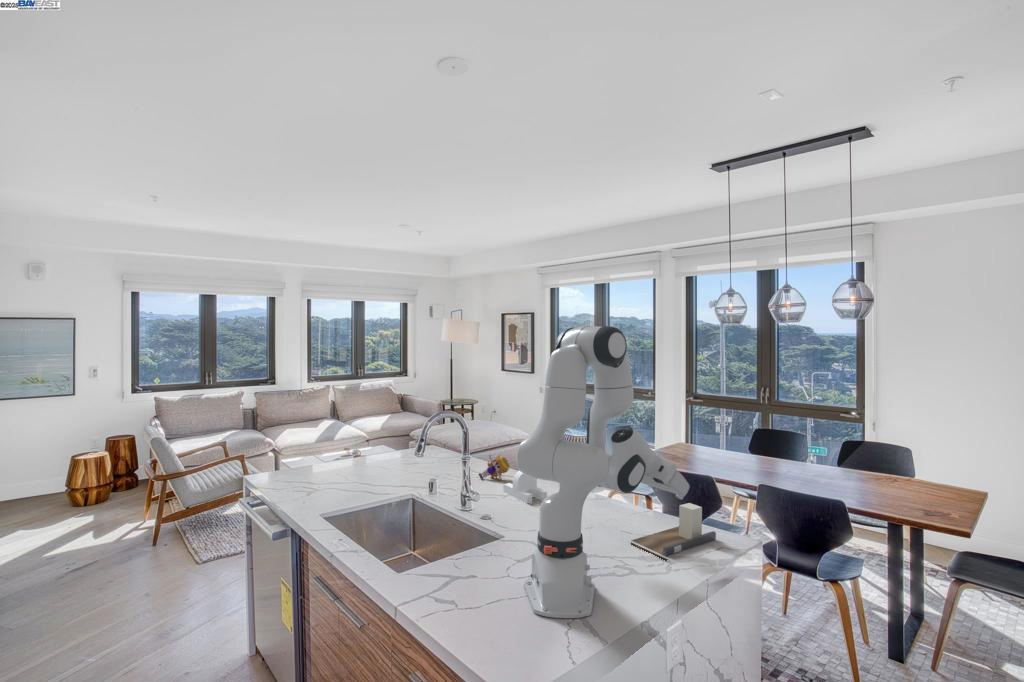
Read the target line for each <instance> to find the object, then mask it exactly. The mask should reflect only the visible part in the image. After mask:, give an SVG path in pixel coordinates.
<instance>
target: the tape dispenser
mask: <svg viewBox="0 0 1024 682" xmlns="http://www.w3.org/2000/svg"><path fill="white" fill-rule="evenodd" d="M502 485H503V487H502V488H503V491H504V492H506V493H507V495H508V494H509V495H508V496H510V495H511V496H510V497H512V496H513V497H512V498H514V497H515V498H514V499H516V498H517V499H516V500H518V499H519V500H518V501H520V500H521V501H520V502H522V501H523V502H522V503H524V502H525V503H524V504H526V503H530V504H533V498H532V497H535V498H534V499H537V500H539V499H540V500H539V501H541V500H542V501H543V500H544V499H545V498H546V497H548V496H547V494H548V492H547V490H544V489H543V488H540V487H538V480H537V478H534V477H531V476H529V475H526V474H524V473H522V472H521V471H520V470H519V469H518V471H517V472H516V473H515V474H514V476H513V479H512V482H508V483H503V484H502ZM504 492H503V493H504ZM506 493H505V494H506ZM542 501H541V502H542Z"/></svg>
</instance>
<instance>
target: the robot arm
mask: <svg viewBox="0 0 1024 682" xmlns="http://www.w3.org/2000/svg"><path fill="white" fill-rule="evenodd" d="M627 343H628V342H627V339H626V337H625V335H624V333H623V332H622V330H621V329H620V328H618V327H614V326H610V325H604V326H598V325H596V326H595V325H594V326H593V325H582V326H579V327H570V328H566V329H564V330H563V331H561V332H560V333H559V335H558V336H557V338H556V341H555V347H554V350H553V351H552V352H551V354H550V357H549V361H548V364H547V370H546V375H545V384H544V395H543V396H544V398H543V407H542V413H541V415H540V416H541V417H540V420H539V422H538V424H537V427H535V430H533V432H532V433H531V434H530V435H529V436H527V438H525V439H523V440H522V441H521V442H520V444H519V445H518V447H517V449H516V453H515V461H516V462H515V464H516V466H517V468H518V471H519V470H520V471H521V472H522V473H524V474H526V475H529V476H531V477H534V478H537V479H539V480H544V481H550V482H557V483H559V489H558V492H555V493H552V494H550V495H548V496H547V497H546V498H545V499H544V500H543V501H541V504H540V506H539V530H538V532H537V538H536V540H537V544H536V545H537V548H536V550H535V551H533V552H532V553H531V567H530V568H531V570H530V571H531V574H530V578H527V579H525V580H524V581H523V587H524V590H525V592H526V595H527V597H528V600H529V603H530V606H531V608H532V611H533V612H534V614H536V615H539V616H543V617H545V618H546V617H547V618H552V619H553V618H556V619H581V618H585V616H586V617H588V616H591V615H592V612H593V605H594V597H595V592H596V584H595V582H594V581H592V576H591V575H588V571H590V567H591V566H590V564H588V554H586V552H585V551H584V538H583V537H584V536H583V533H582V517H583V508H584V504H585V502H586V499H587V498H588V496H589V495H590V493H592V491H593V490H594V489H596V488H597V487H598V488H599V487H600V488H605V489H608V490H612V491H617V492H619V493H625V494H629V493H631V492H634V491H635V490H636V489H637V488H638V486H639V485H640V484H643V485H646V486H648V487H649V488H651V489H652V490H653V492H656V493H658V492H659V491H660V490H662V491H665V492H667V493H668V492H669V493H671V494H674V495H675V497H676V498H677V499H678V500H683V499H684V498H685V496H686V495H687V494H688V492H689V490H690V486H691V485H690V484H689V482H688V481H687V479H686V478H685V477H684V476H683V475H682V473H680V471H679V470H677V469H678V467H677V465H676V463H675V464H674V463H672V462H671V461H669V460H666V459H665V458H664V457H661V456H660V455H658V454H657V453H656V452H655V451H654V450H653V449H652V448H651V447H650V445H649V443H648V442H647V440H646V439H645V438H644V437H643V436H642V434H641V433H639V431H637V430H636V429H634V428H632V427H622V428H619V429H616V431H615V432H614V433H612V435H611V436H610V442H611V444H612V455H610V454H608V452H607V450H606V441H607V439H606V438H607V428H608V427H607V426H608V424H609V422H610V421H611V420H613V419H615V418H618V417H621V416H623V415H624V414H627V412H628V411H629V410H630V409H631V408H632V405H633V402H634V397H635V396H634V382H633V376H632V370H631V366H630V361H629V357H628V355H627V349H628V347H627V346H628V344H627ZM589 366H590V367H592V370H593V384H594V385H593V386H594V397H593V400H592V404H590V406H589V408H588V413H587V419H586V420H587V421H586V423H587V424H586V442H582V441H581V442H579V441H573V440H571V441H570V440H566V439H565V440H564V438H565V435H566V434H565V433H566V431H567V430H568V429H570V428H573V427H574V426H576V425H578V424H580V423H581V422H582V421H583V419H584V418H585V414H586V403H587V402H586V401H587V400H586V397H587V371H588V368H589Z"/></svg>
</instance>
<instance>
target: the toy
mask: <svg viewBox="0 0 1024 682" xmlns="http://www.w3.org/2000/svg"><path fill="white" fill-rule="evenodd" d="M488 459H489V460H490V462H489V461H487V468H486V469H485V470H484V471H482V473H481V472H479V473H478V476H479V478H480V479H481V480H484V478H487V477H488V476H490V479H494V478H495V479H497V477H498V478H499V479H500V481H501V482H502V480H503V478H502V476H503V474H505V473H508V472H509V471H510V470H509V469H510V464H509V463H508V462H509V459H506V457H504V456H500V454H499V455H497V457H495V458H494V459H493V457H492V456H491V454H489V455H488Z"/></svg>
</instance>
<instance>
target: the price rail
mask: <svg viewBox="0 0 1024 682" xmlns="http://www.w3.org/2000/svg"><path fill="white" fill-rule="evenodd" d="M716 538H717V532H716V531H714V530H712V531H710V532H709V531H708V532H705V533H702V535H699V536H696V537H693V538H690V539H687V540H684V541H680V542H677V543H674V544H671V545H668V546H665V547H663V555H664V557H668V556H672V555H676V554H678V553H681V552H683V551H686V550H690V549H693V548H696V547H699V546H701V545H705V544H708V543H711V542H714V541H716V540H717V539H716ZM663 555H662V556H663Z"/></svg>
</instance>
